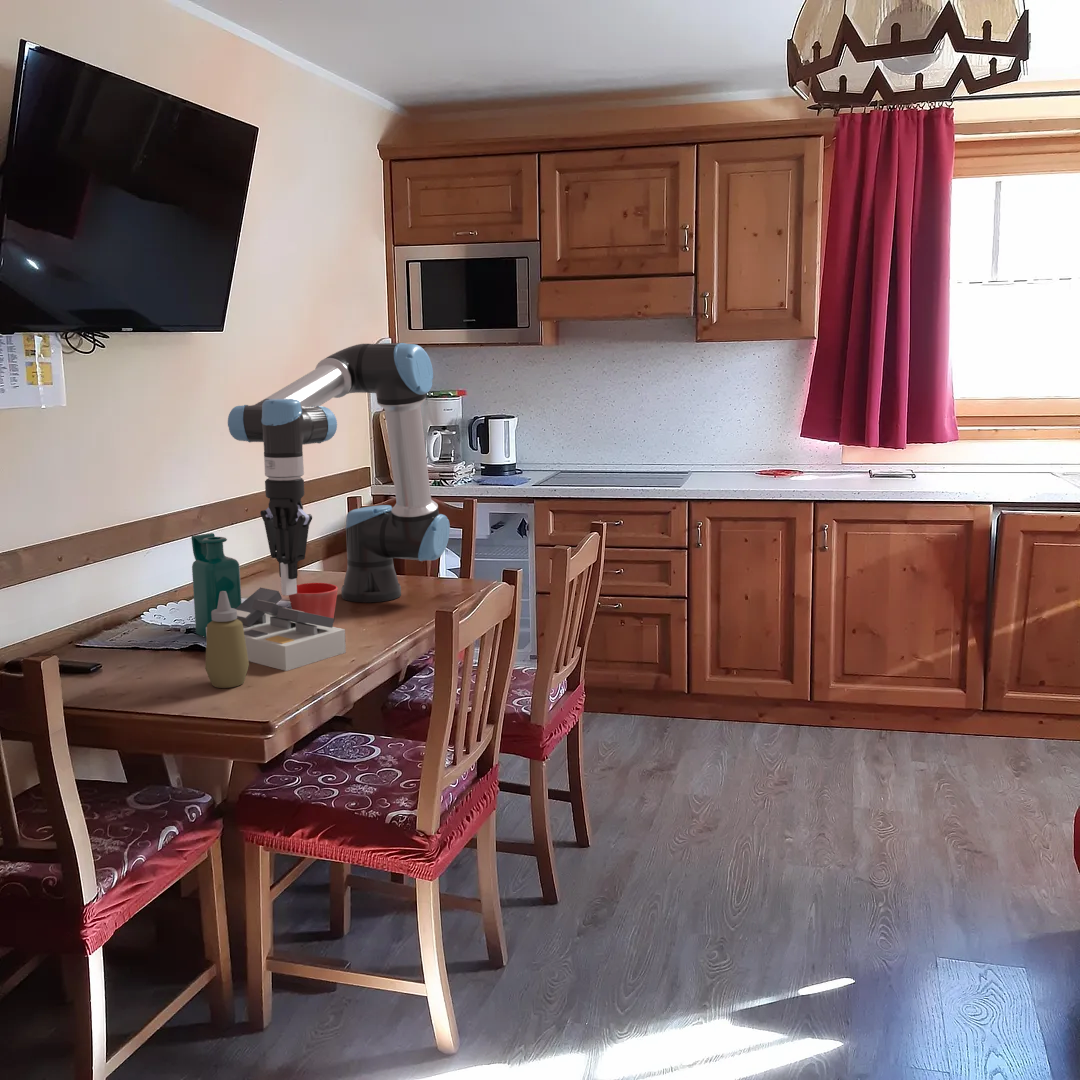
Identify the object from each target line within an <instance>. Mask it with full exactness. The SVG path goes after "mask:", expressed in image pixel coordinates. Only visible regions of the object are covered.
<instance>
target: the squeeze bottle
mask: <svg viewBox="0 0 1080 1080" xmlns="http://www.w3.org/2000/svg"><path fill="white" fill-rule="evenodd" d="M211 615H212V620H213V621H211V622H210V623H209V624H207V639H206V638H205V639H206V643H205V645H206V646H205V662H204V664H205V665H204V670H205V671H206V673H207V677H208V678H209V681H210V683H211V685H212V686H213V687H215V688H220V689H221V688H222V689H226V688H227V689H228V688H235V687H238V686H240V685H243V684H244V683H245V680H246V676H247V672H248V670H249V666H250V663H249V662H250V661H248V655H247V649H246V642H245V636H244V629H243V623H242V622H241V621H240V620H238V619H237V610H236V609H234V608H231V606H230V603H229V599H228V596H227V592H226V591H220V594H219V600H218V606H217V609H215V610H213V611H211Z"/></svg>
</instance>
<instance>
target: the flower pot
mask: <svg viewBox="0 0 1080 1080" xmlns="http://www.w3.org/2000/svg"><path fill="white" fill-rule="evenodd" d="M338 590H339V588H338V586H337V585H335V584H333V583H332V584H331V583H328V582H307V583H301V584H297V593H296V594H292V595H288V597H289V603H290V607H291V609H293V610H298V611H303V612H306V613H311V614H316V615H320V616H325V617H330V618H334V616H335V611H336V605H337V598H338ZM334 619H335V618H334Z"/></svg>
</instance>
